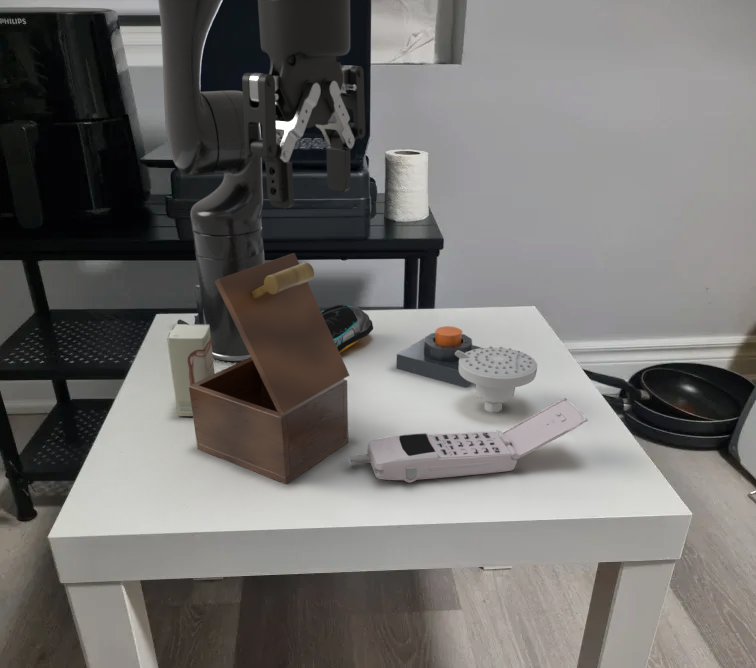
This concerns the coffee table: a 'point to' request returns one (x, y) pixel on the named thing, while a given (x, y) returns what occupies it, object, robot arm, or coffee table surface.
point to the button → (448, 336)
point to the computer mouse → (346, 325)
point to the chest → (266, 423)
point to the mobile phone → (468, 447)
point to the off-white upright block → (189, 361)
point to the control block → (435, 360)
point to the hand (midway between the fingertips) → (311, 198)
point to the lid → (283, 329)
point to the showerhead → (496, 373)
